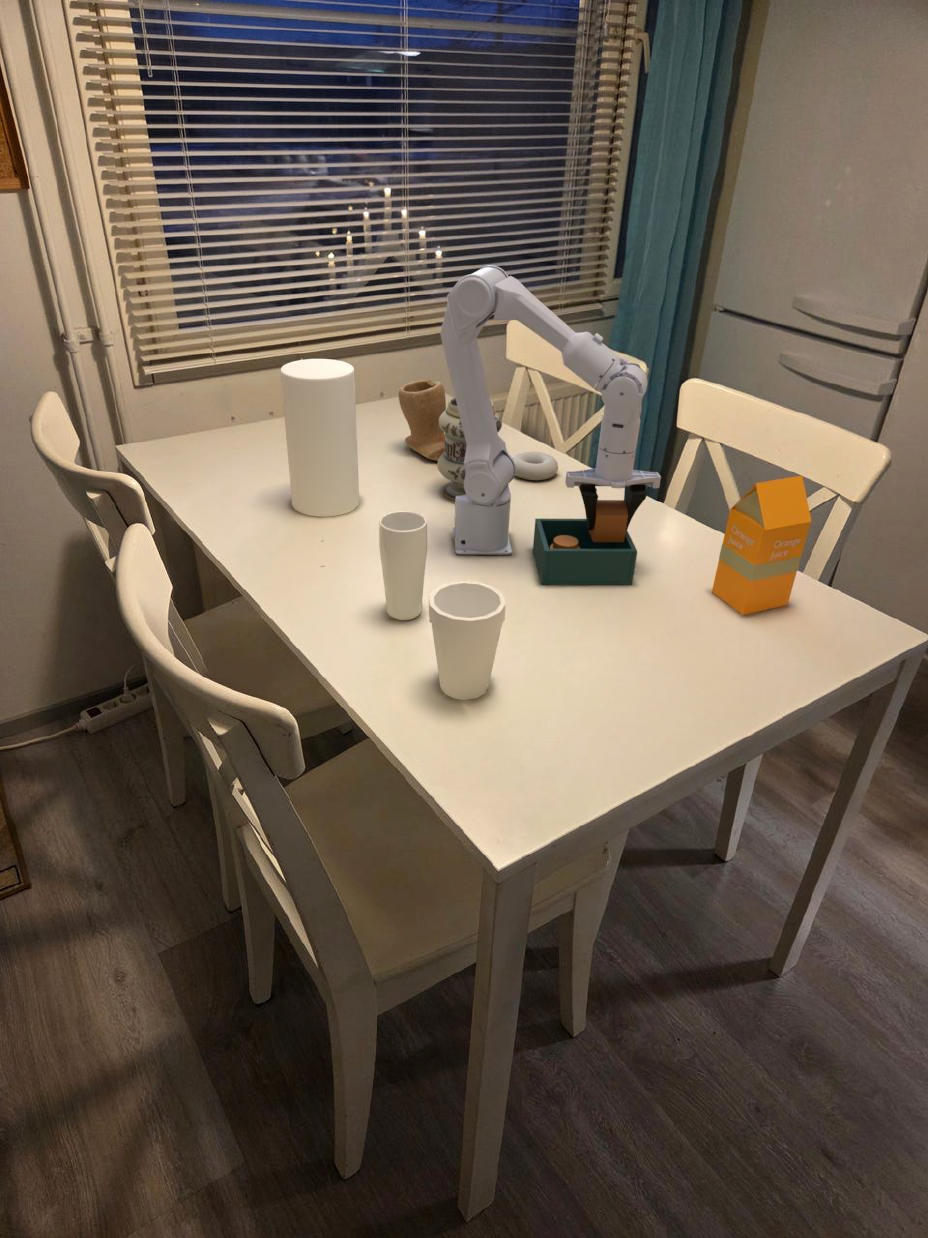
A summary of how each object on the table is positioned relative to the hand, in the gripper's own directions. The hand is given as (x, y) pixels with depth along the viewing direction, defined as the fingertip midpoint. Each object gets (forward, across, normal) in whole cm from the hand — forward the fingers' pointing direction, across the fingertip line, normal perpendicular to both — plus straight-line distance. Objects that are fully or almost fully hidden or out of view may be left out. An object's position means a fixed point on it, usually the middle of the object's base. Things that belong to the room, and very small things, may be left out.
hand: (606, 527), depth 133 cm
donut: (+7, -6, +40) cm, 41 cm away
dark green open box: (+7, -4, 0) cm, 8 cm away
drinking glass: (+7, -32, -14) cm, 36 cm away
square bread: (+1, 0, 0) cm, 1 cm away
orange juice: (+7, +22, -10) cm, 25 cm away
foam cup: (+7, -24, -32) cm, 41 cm away
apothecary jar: (+7, -20, +30) cm, 37 cm away
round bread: (+6, -7, -1) cm, 9 cm away
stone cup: (+7, -28, +50) cm, 58 cm away
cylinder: (+7, -48, +24) cm, 54 cm away
